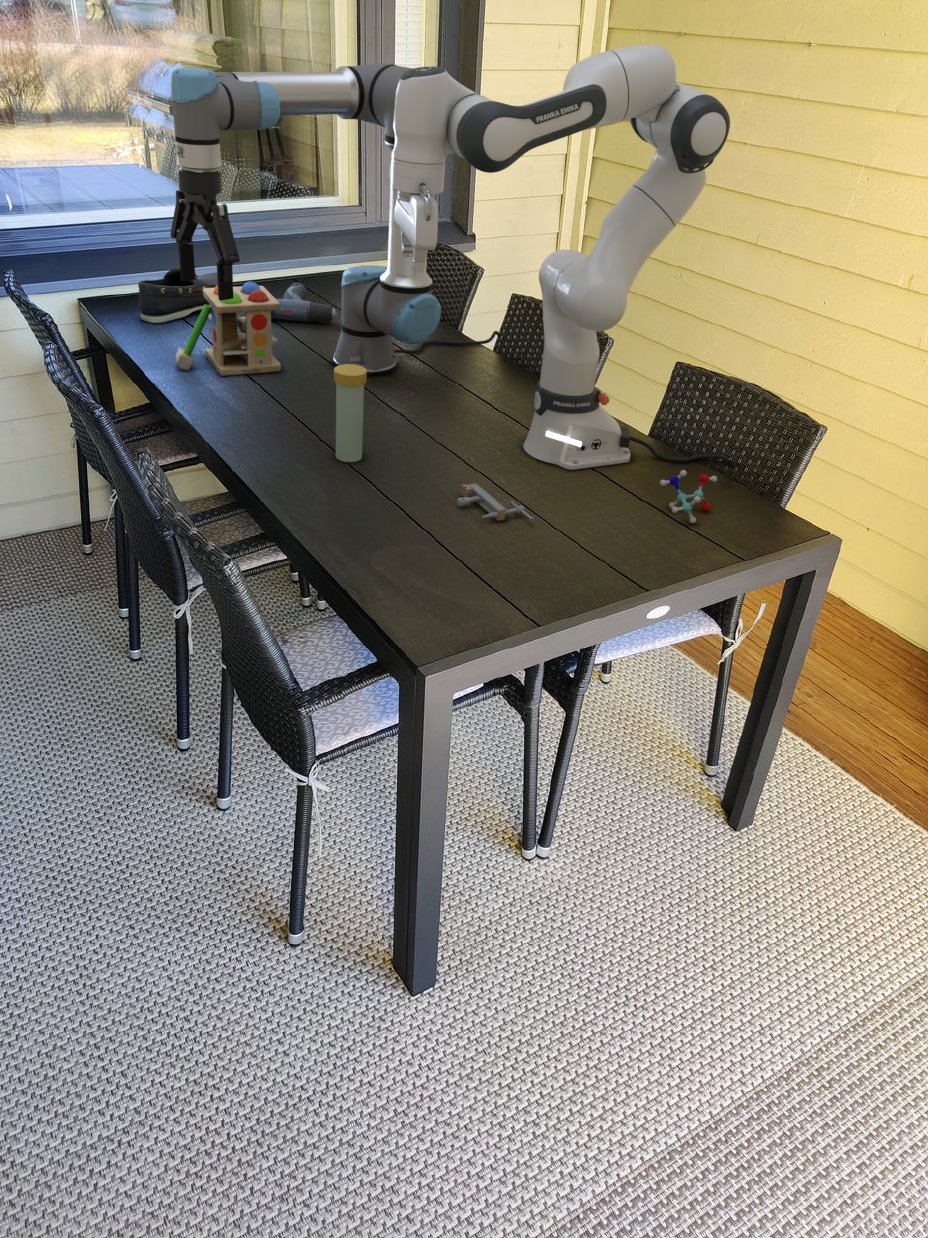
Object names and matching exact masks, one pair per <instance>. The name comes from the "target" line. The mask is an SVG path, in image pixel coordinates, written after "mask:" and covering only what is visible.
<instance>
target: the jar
mask: <svg viewBox="0 0 928 1238" xmlns="http://www.w3.org/2000/svg"><path fill="white" fill-rule="evenodd" d="M335 385H336V388H335V391H336V392H335V458H336V459H337V460H338V461H340V462H343V463H344V462H345V463H355V462H359V461H361V460H362V458H363V437H364V435H363V432H364V401H365V400H364V396H365V391H364V390H365V384H364V385H362V386H358V387H346V386H341V385H339V384H337V383H335Z"/></svg>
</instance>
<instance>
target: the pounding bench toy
mask: <svg viewBox="0 0 928 1238" xmlns="http://www.w3.org/2000/svg"><path fill="white" fill-rule="evenodd" d="M203 296H204V297H205V299H206V300H207V301H208V302H209V304H210V305H211V307H210V306H208V305H204V307H203V309H201V312H200V313H199V316H198V318H197V320H196V322H195V324H194V327H193V329H192V331H191V332H190V333H191V334H190V336H189V338H188V340H187V343H186V344H185V347H184V348H182V347H180V346H179V347H178V349H177V351H176V354H175V357H174V358H175V362H176V365H177V366H178V368H179V369H182V370H185V371H189V370H190V369H191V367H192V365H193V363H194V356H193V351H194V348H195V347H196V345H197V342H198V340H199V337H200V336H201V333H202V332H203V329H204V326H205V325H206V322H207V320H209V321H210V322H211V336H212V337H211V338H212V339H211V340H212V348H205V349H204V352H205V353H204V355H205V357H206V359H208V361H209V363H210V364H211V365H212V366H213V367H214V369H215V370H216V371H217V372H218V374H219V375H220V376H222V377H223V376H234V375H235V376H236V375H246V374H247V375H250V374H262V373H275V372H281V370H282V364H281V363H280V362H279V360H278V359H277V358H276V357H275V356H274V355H273V348H272V347H273V345H272V344H276V343H278V342H279V341H278V339H277V338H276V337H275V336H274V334H272V318H271V310H280V303H279V302H278V301H277V300H276V299H277V298H276V297H274V296H273V295H272V294H271V293H270V292H269V290H268V289H267V288H266V287H264V285H259V284H257V283H256V282H255V281H247V282H245V283H244V284H243V285H242V286H233V298H234V299H228V300H222V301H220V300H219V297H218V285H217V286H216V287H215V288H204V289H203ZM238 313H244V314H245V315H244V316H238ZM238 329H239V331H240V333H239V334H238Z"/></svg>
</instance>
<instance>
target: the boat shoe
mask: <svg viewBox="0 0 928 1238" xmlns="http://www.w3.org/2000/svg"><path fill="white" fill-rule="evenodd" d="M195 278H196V280H189V281H181V273H180V266H176V267H173V268H171V269H170V270H168V271H167V272H166V273H165V274H164V276H163V277H162V278H158V279H143V280H139V281H138V282H137V285H138V286H137V287H138V293H139V294H138V295H139V296H138V301H139V302H138V303H137V307H139V308H140V319H141V320H143V321H145V322H148V323H152V324H158V323H160V324H161V323H166V322H170V321H173V320H177V319H181V318H184V317H187V316H188V315H190V314H191V313H193V312H196V311H199V310H202V309H203V307H204V305H208V306H210V307H211V305H210V304H209V302H208V301H207V300H206V299H205V297H204V296H203V289H204V288H215V287H216V286H217V285H218V280H217V272H211V273H205V274H201V275H198V274H197V273H195Z"/></svg>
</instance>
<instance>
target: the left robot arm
mask: <svg viewBox="0 0 928 1238" xmlns="http://www.w3.org/2000/svg"><path fill="white" fill-rule="evenodd" d="M411 69H414V68H413V67H406V66H401V65H397V64H394V63H375V64H374V63H373V64H363V65H349V66H348V65H342V66H338V67H337V68H336V69H335V70H334V71H230V72H229V71H213V70H211V69H207V68H201V67H200V68H199V67H186V66H185V67H177V68H175V69H173V71H172V73H171V76H170V77H171V80H170V81H171V82H170V91H171V92H170V93H171V94H170V100H171V102H172V116H173V125H174V126H173V128H174V140H175V149H174V152H175V154H176V164H177V165H178V166H179V168H178V169H177V182H178V184H177V185H178V189H176V191H175V206H174V212H173V217H172V223H171V227H170V238H172V239H175V243H176V244H177V246H178V258H179V267H180V273H181V281H189V280H196V278H195V274H196V267H195V266H196V265H195V251H194V244H193V243H194V239H193V237H194V234H195V232H196V230H197V228H198V225H200V226H201V228H202V229H203V230H204V231H206V233H207V235H208V238H209V240H210V243H211V245H212V247H213V250H214V253H215V255H216V257H217V259H218V260H217V262H215V264H216V273H217V280H218V297H219V300H220V301H222V300H228V299H234V298H233V287H234V282H233V281H234V275H233V274H234V272H233V271H234V270H233V264H235V263H239V262H240V259H241V258H240V254H239V251H238V248H237V244H236V241H235V237H234V234H233V230H232V226H231V222H230V218H229V210H228V205H227V204H226V203H222V204H221V203H219V204H218V202H217V195H219V194H221V193H222V191H223V185H222V183H223V182H222V172H221V170H220V167H221V166H222V161H221V145H220V131H237V130H238V131H239V130H240V131H241V130H242V131H243V130H246V131H247V130H257V131H260V130H264V129H271V128H274V127H275V126H276V125H277V124H278V122H279V120H280V117H281V116H318V115H319V116H320V115H321V116H322V115H337V117H339V118H340V119H342V120H356V121H362V122H366V123H370V124H373V125H377V126H380V127H383V128H384V144H385V145H386V146H387V148H389V150H390V152H391V153H392V152H393V149H394V145H395V134H394V130H393V121H394V107H395V98H396V92H397V86H398V83H399V80H400V77H401V76H402V75H403V74H404V73H405V72H406V71H409V70H411ZM390 160H391V161H390V162H391V163H390V166H391V165H392V159H390ZM389 189H390V190H389V211H388V213H389V215H388V217H389V218H388V243H387V266H386V265H374V264H372V265H371V264H370V265H369V264H368V265H357V266H356V265H355V266H351V267H348V268H346V269H345V270H344V271H343V273H342V277H341V278H342V279H341V285H340V288H341V316H340V317H341V319H340V321H341V324H340V325H341V326H340V329H341V330H340V336H339V338H338V341H337V344H336V348H335V350H334V352H333V361H332V362H333V363H332V364H333V366H334V368H335V367H337V366H339V365H344V364H353V365H359V366H362V367H364V368H365V369H366V370H367V376H380V375H381V376H382V375H386V374H389V373H391V372H393V371H395V369H396V368H397V361H398V360H397V354H417V353H419V352H420V351H422V348H423V347H424V346H426V345H433V344H438V345H439V344H441V345H442V344H443V345H459V346H460V345H465V346H466V345H468V346H470V345H474V346H476V345H485V344H489V343H491V342H492V341H493V340H494V339H495V337H496V336H497V337H500V336H501V334H500V332H499V331H498V330H494V331H493V332H492V333H491V335H490V337H489V338H487V339H485V340H484V339H483V340H474V341H473V340H471V341H470V340H469V341H467V340H440V339H433V340H428V339H429V338H430V337H431V336H432V334H433V333H434V332H435V331H436V329H437V328H438V327H439V324H440V320H441V317H442V316H441V315H442V309H441V308H442V307H441V303H440V302H439V301H438V299H437V297H436V296H434V294H432V293H433V279H432V278H431V277H430V275H429V274H428V273H427V263H428V260H427V259H428V255H427V256H426V260H425V264H424V271H423V272H415V271H414V270H413V268H412V265H413V264H412V263H413V259H414V246H413V256H412V257H404V256H403V254H402V240H401V229H400V228H399V226H398V225H397V224H396V222H395V220H394V214H393V188H391V185H390V187H389ZM392 338H393V339H395V340H396V341H399V342H400V343H401V342H402V343H406V344H409V345H418V344H419V345H418V347H417V348H416V349H403V348H402V349H398V348H397V349H395V347H394V343H393V341H392Z"/></svg>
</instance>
